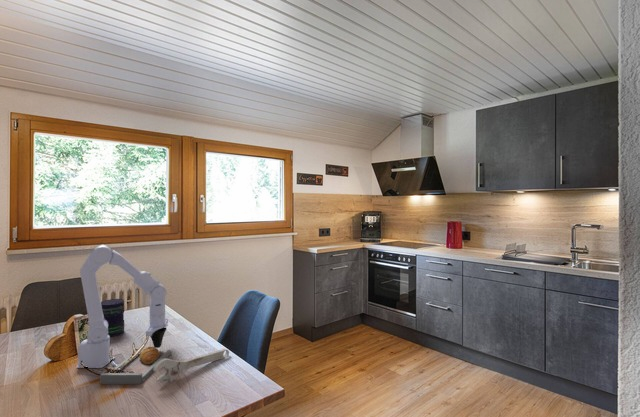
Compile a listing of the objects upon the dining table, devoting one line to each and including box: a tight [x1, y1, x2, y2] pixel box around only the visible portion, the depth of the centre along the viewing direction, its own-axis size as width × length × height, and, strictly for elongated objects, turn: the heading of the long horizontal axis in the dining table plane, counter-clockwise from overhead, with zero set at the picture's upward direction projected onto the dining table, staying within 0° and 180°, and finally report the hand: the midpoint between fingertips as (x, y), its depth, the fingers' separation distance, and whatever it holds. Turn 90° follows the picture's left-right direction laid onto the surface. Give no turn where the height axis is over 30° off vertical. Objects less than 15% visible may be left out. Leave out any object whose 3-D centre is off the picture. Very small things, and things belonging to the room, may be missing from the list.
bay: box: [99, 349, 172, 385], centre depth 122 cm, size 13×23×3 cm, turn 0°
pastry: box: [138, 346, 160, 365], centre depth 128 cm, size 9×7×4 cm
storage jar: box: [101, 298, 125, 339], centre depth 154 cm, size 10×10×15 cm
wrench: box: [153, 348, 230, 383], centre depth 120 cm, size 8×2×30 cm
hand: (157, 347), depth 136 cm, fingers closed
